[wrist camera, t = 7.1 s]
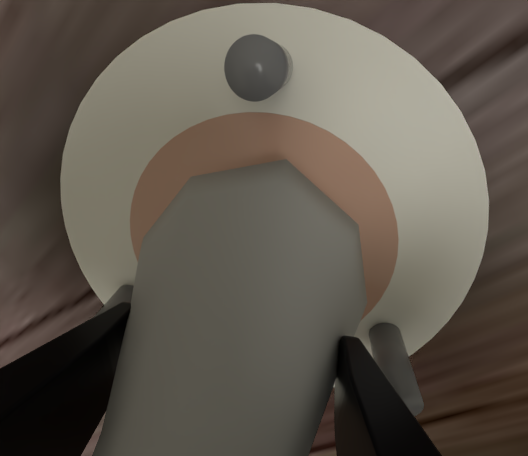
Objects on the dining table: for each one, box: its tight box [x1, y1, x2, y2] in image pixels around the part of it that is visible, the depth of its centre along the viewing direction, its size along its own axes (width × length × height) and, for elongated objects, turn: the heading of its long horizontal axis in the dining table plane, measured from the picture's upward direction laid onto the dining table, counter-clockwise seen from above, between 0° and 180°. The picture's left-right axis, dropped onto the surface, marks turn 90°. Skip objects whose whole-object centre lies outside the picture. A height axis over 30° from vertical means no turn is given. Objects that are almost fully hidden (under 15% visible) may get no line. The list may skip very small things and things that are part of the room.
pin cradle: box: [60, 3, 489, 416], centre depth 11 cm, size 15×15×4 cm
